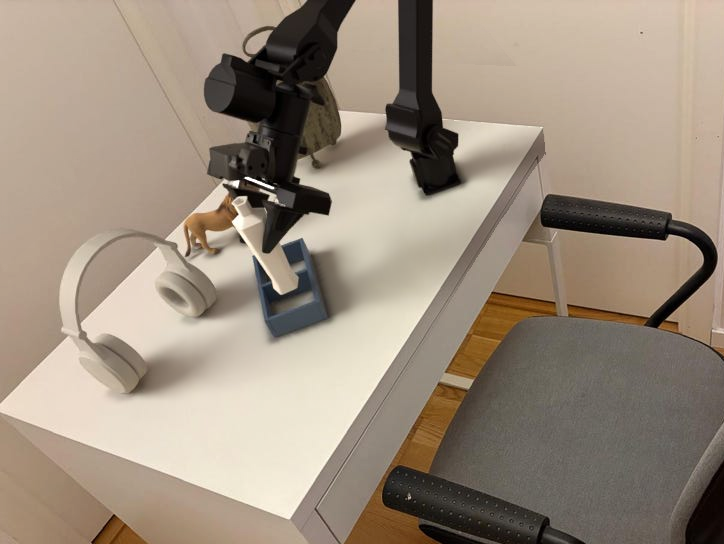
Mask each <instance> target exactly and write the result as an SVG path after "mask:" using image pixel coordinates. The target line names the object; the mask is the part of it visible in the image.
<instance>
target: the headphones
mask: <svg viewBox="0 0 724 544" xmlns="http://www.w3.org/2000/svg"><path fill="white" fill-rule="evenodd" d="M129 238H134V239H140V240H144V241H147V242H149V243H152V244H153V245H154V246H155V247H158V248H159V250H160V253H161V254H162V256H163V258H164V260H165V261H166V266H165V268H164V269H163V271H162V273H160V274H159V275H158V276H157V277H156V279H155V280H154V288H155V290H156V292H157V294H158V295H159V297H160V298H161V299H162V300H163V302H165V303H166V305H168V306H169V307H170V308H172V309H173V310H174V311H176V312H177V313H179V314H181V315H182V316H186V317H188V318H198V317H200V315H202V314H203V313H204V312H205V310H206V309H208V308H210V307H211V306H212V305H213V304H215V302H216V300H217V298H218V294H217V293H218V292H217V288H216V286H215V284H214V283H213V281H212V280H211V279H210V277H208V275H207V274H205V273H204V272H203V270H201V269H200V268H198V267H197V266H195V265H194V264H192V263H190V262H188V261H187V260H186V259H185V258H186V257H185V256H183V255H182V253H181V252H180V251H179V249H178V248H179V245H178V243H177V242H175V241H171V240H167V239H165V238H163V237H160V236H158V235H156V234H152V233H148V232H145V231H140V230H137V229H133V228H124V227H123V228H121V227H120V228H111V229H107V230H105V231H102V232H99V233H97V234H95V235H93V236H92V237H90V238H89V239H87V241H85V242H84V243H82V245H80V247H78V249H77V250H75V252H74V254H73V255H72V256H71V258H70V259H69V261H68V263H67V264H66V266H65V269H64V271H63V274H62V277H61V281H60V286H59V293H58V294H59V295H58V296H59V301H58V302H59V305H58V306H59V310H60V311H59V312H60V317H61V321H62V327H61V328H60V330H61V333H62V334H64V335H67V336H68V337H69V338H70V339H71V340H72V342H73V343H74V345H75V346H76V347H77V349H78V351H79V352H78V361H79V363H80V365H81V367H82V368H83V369H84V370H85V371H86V372H87V373H88V374H89V375H90V376H91V377H93V378H94V379H95V380H96V381H98V382H99V383H100V384H102V385H104V386H105V387H107V388H108V389H110V390H112V391H114V392H116V393H118V394H128V393H131V392H132V391H133V390H134V389H135V388H136V387H137V385H138V384H139V381H140V379H142V378H143V377H144V375H146V373H147V372H148V364H147V362H146V361H145V359H144V357H142V355H141V354H140V353H139V352H138V351H137V350H136V349H134V348H133V347H132V346H131V345H130V344H129V343H127V342H125V341H124V340H123V339H121V338H119V337H117V336H115V335H114V334H110V333H105V332H104V333H100V334H99V335H97V336H96V337H95V338H94V339H93V340H92V341H91V340H90V339H89V337H88V333H87V331H85V330H83V328H82V324H81V323H82V322H81V319H80V314H79V298H80V297H79V296H80V290H81V286H82V282H83V279H84V276H85V274H86V273H87V270H88V268H89V266H91V264H92V262H93V261H94V260H95V259H96V258H97V256H98V255H99V254H100V253H101V252H102V251H103V250H105V249H106V248H107V247H109V246H111V245H112V244H114V243H116V242H117V241H120V240H123V239H129Z"/></svg>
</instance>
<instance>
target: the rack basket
mask: <svg viewBox="0 0 724 544" xmlns="http://www.w3.org/2000/svg"><path fill="white" fill-rule="evenodd" d="M280 245H281V247H282V249H283V251H284V254H285V256H286V258H287V261H288V263H289V265H291V264H294V263H297V262H299V261H303V260H304V263H305V267H306V268H304V269H303V268H302V269H301V270H298V271H295V272H294V273H295V274H296V275H297V276H298V277H299V278H298V287H297V288H296V289H294V290H292V291H290V292H287V293H285V294H283V295H280V294H279V293H278V292H277V291H276V290H275V289H274V288H273V284H272V280H270V281H268V280H267V276H266V274H267V273H266V271H265V270H264V268H263V267H262V265H261V264H260V262H259V261H258V260H257V258H256V257H255V255H254V254H253V255H252V256H251V257H252V262H253V268H254V273H255V278H256V284H257V289H258V295H259V299H260V304H261V310H262V315H263V322H264V323H265V325H266V327H267V328H268V330H269V332H270V334H271V335H272V338H273V339H276V338H279V337H281V336H284V335H286V334H290V333H292V332H295V331H297V330H300V329H303V328H306V327H308V326H311V325H313V324H317V323H319V322H321V321H324V320H328V319H329V316H328V313H327V309H326V306H325V302H324V299H323V295H322V291H321V288H320V284H319V280H318V277H317V273H316V270H315V266H314V262H313V258H312V255H311V252H310V251H309V248H308V246H307V244H306V242H305V240H304V237H300V238H297V239H295V240H292V241H290V242H287V243H284V244H280ZM267 281H268V282H267ZM310 290H312V293H313V298H314V300H313V301H309V302H307V303H304V304H302V305H299V306H296V307H294V308H291V309H287V310H285V311H282V312H280V313H278V314H274V310H273V305H272V304H274V303H277V302H279V301H282V300H285V299H287V298H290V297H292V296H296V295H298V294H302V293H304V292H307V291H310Z"/></svg>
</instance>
